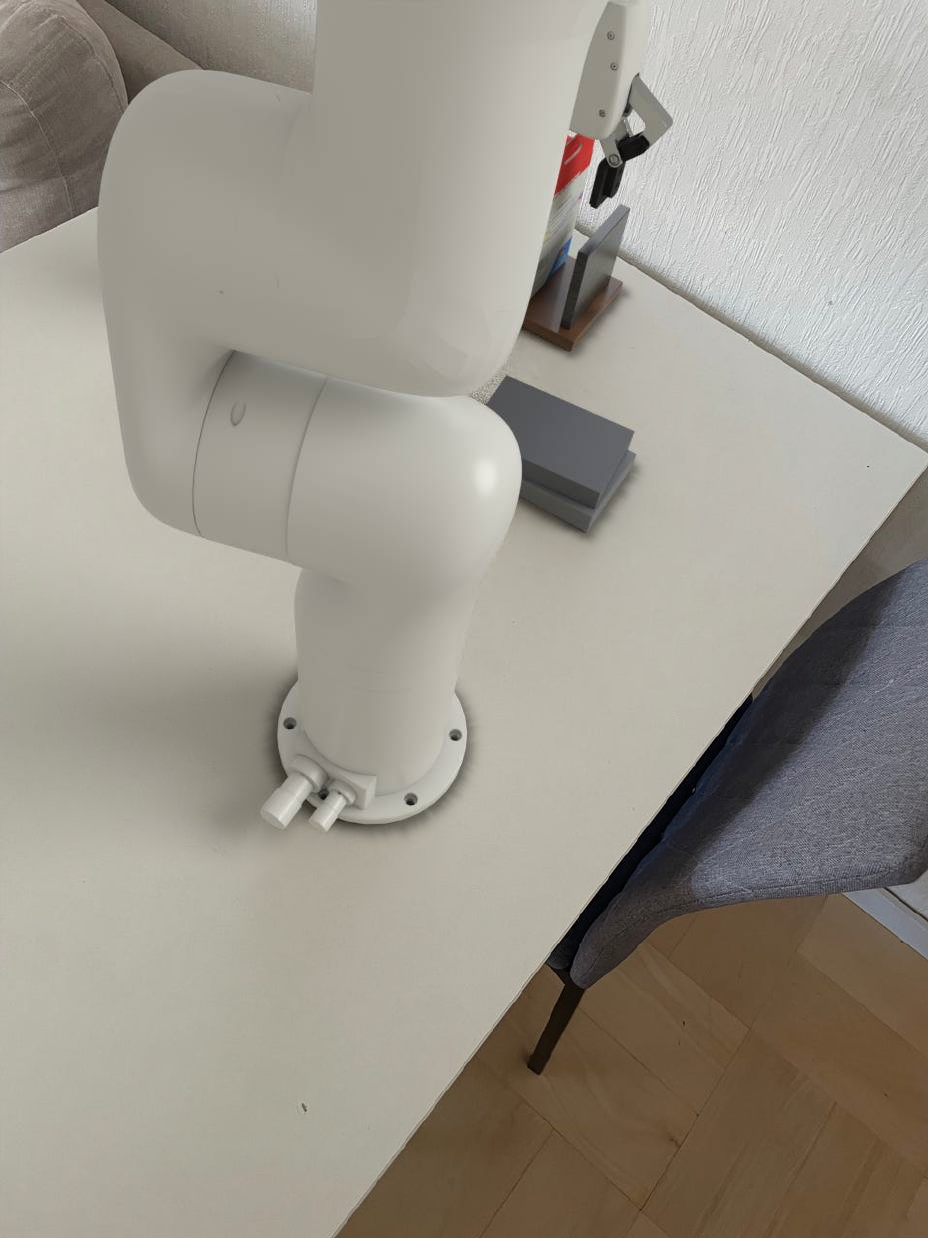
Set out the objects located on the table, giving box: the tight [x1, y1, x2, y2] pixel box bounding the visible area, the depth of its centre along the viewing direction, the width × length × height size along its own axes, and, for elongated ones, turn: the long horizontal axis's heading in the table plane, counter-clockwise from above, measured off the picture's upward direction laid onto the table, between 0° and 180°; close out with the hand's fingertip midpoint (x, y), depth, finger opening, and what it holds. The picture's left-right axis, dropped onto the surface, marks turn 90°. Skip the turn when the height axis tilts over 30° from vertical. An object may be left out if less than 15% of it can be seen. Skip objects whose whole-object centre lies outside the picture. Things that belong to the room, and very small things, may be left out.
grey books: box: [485, 374, 637, 533], centre depth 82 cm, size 8×12×4 cm
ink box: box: [529, 133, 596, 300], centre depth 87 cm, size 8×5×15 cm, turn 148°
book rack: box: [521, 203, 631, 352], centre depth 91 cm, size 10×23×11 cm, turn 59°
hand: (550, 175), depth 85 cm, fingers open, 9 cm apart
